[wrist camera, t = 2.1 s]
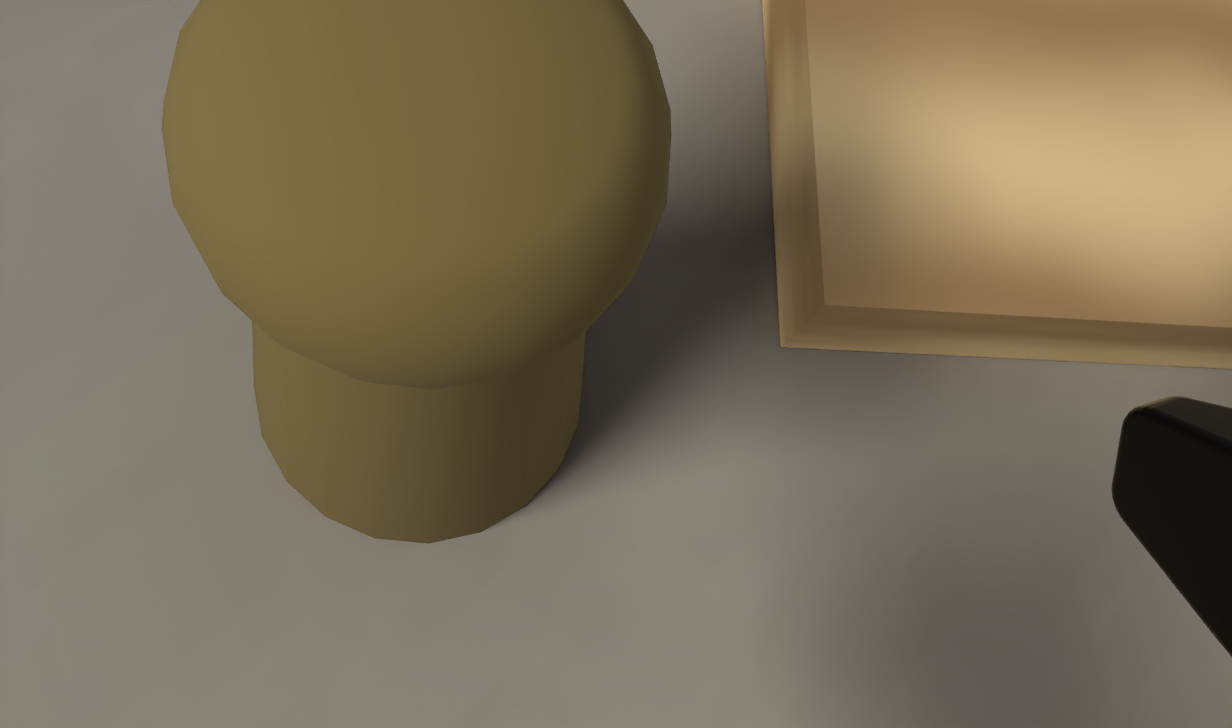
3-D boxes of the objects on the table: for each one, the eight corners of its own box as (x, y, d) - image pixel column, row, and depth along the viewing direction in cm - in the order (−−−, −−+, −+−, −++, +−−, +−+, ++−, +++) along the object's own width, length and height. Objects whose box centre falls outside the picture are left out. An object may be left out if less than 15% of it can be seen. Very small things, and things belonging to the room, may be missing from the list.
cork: (571, 230, 22) (715, -196, 11) (594, 533, 20) (786, 361, 10) (256, 231, 20) (90, -241, 10) (251, 553, 19) (47, 381, 8)
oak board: (1306, 372, 24) (1405, 337, 21) (780, 347, 22) (824, 305, 19) (1215, -87, 27) (1291, -161, 25) (754, -146, 25) (789, -233, 23)
